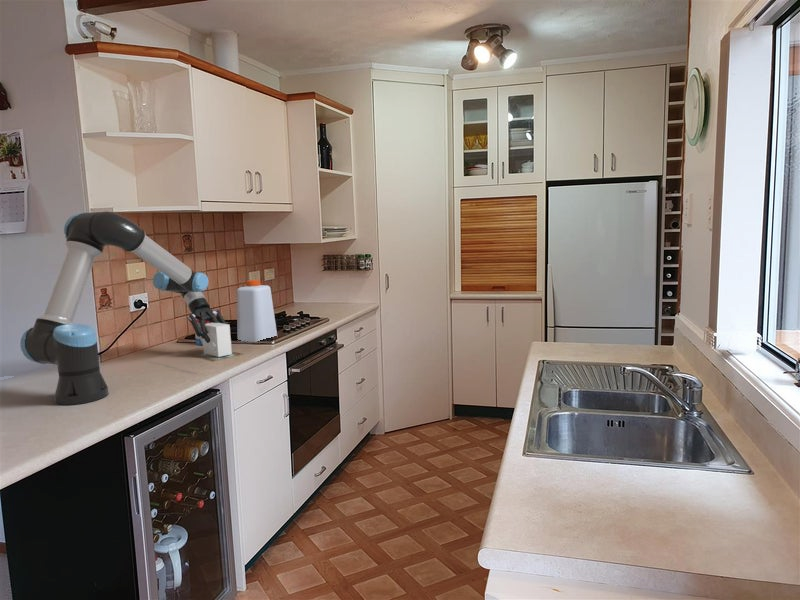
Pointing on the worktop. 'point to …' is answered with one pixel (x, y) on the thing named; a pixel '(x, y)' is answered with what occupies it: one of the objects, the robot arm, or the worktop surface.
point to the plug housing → (218, 339)
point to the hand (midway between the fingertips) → (222, 346)
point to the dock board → (214, 358)
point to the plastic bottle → (255, 312)
